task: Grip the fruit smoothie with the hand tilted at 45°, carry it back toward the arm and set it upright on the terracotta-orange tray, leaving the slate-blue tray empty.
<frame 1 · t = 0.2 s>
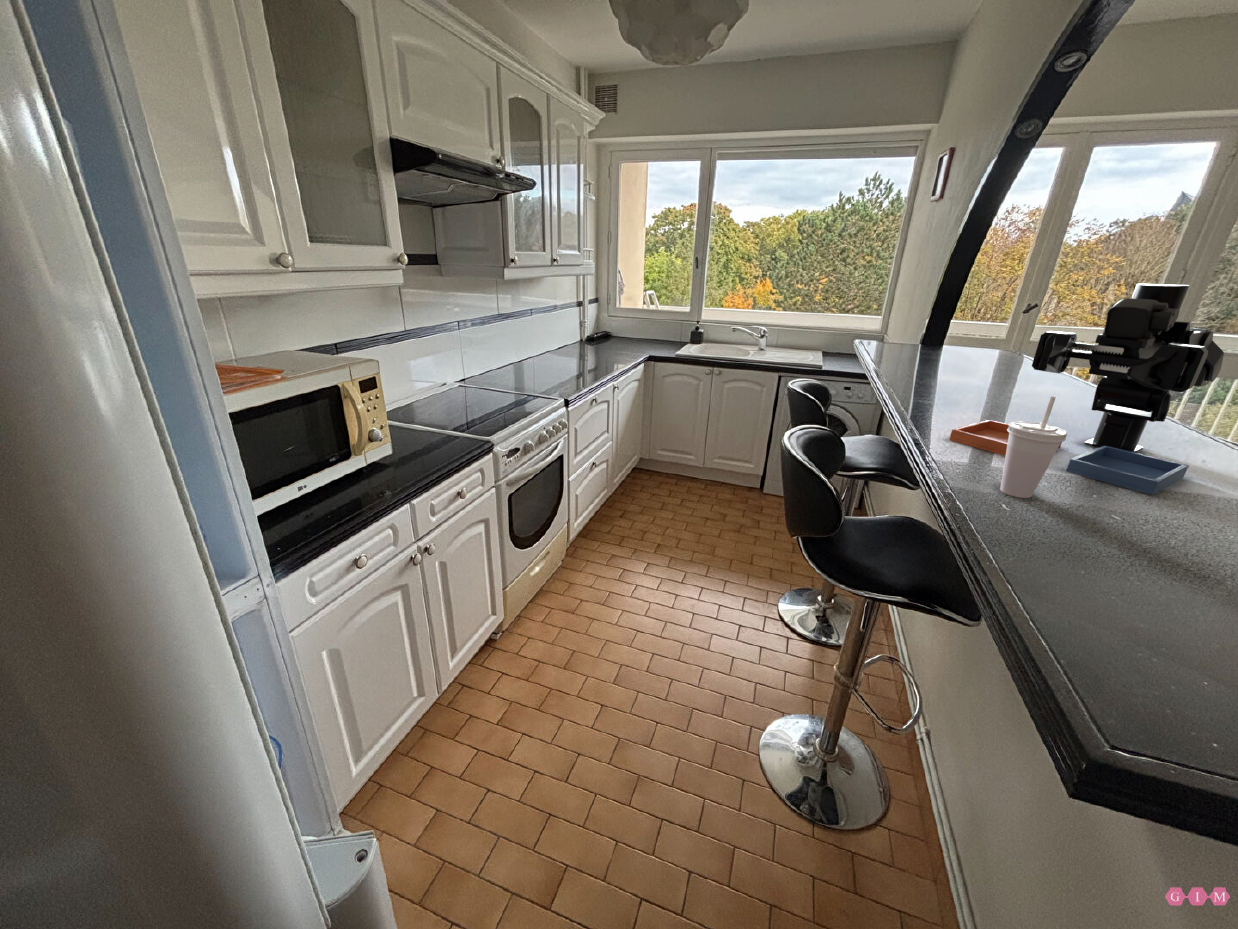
hand: (1087, 366, 73), 17 cm above the countertop, tool horizontal, fingers open, 9 cm apart
blue tray: (1123, 474, 79), on the countertop
smoothie: (1015, 493, 72), on the countertop
orange tray: (1003, 444, 92), on the countertop
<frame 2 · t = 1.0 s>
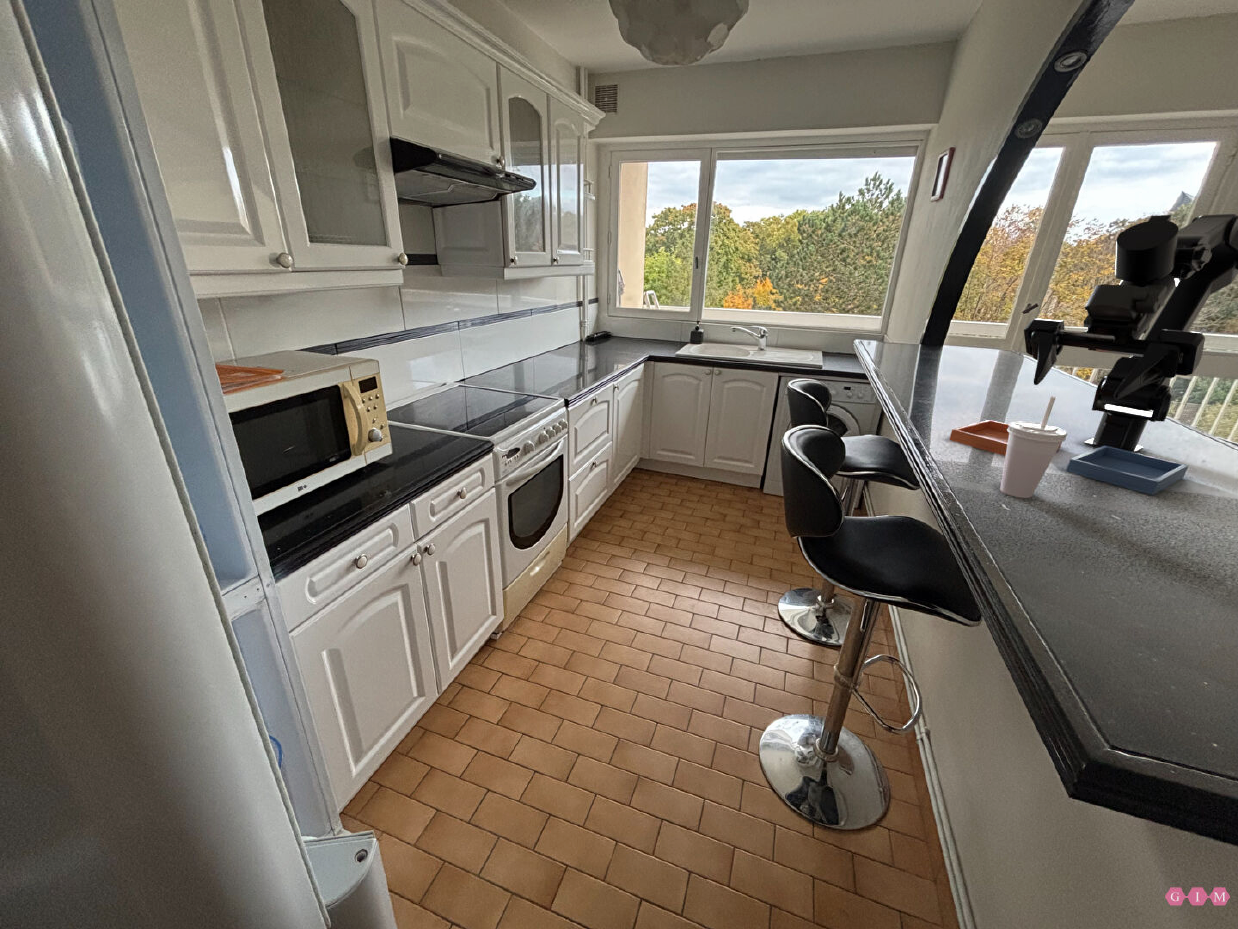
hand: (1073, 389, 71), 14 cm above the countertop, tool tilted 45°, fingers open, 9 cm apart
nothing on the countertop moved.
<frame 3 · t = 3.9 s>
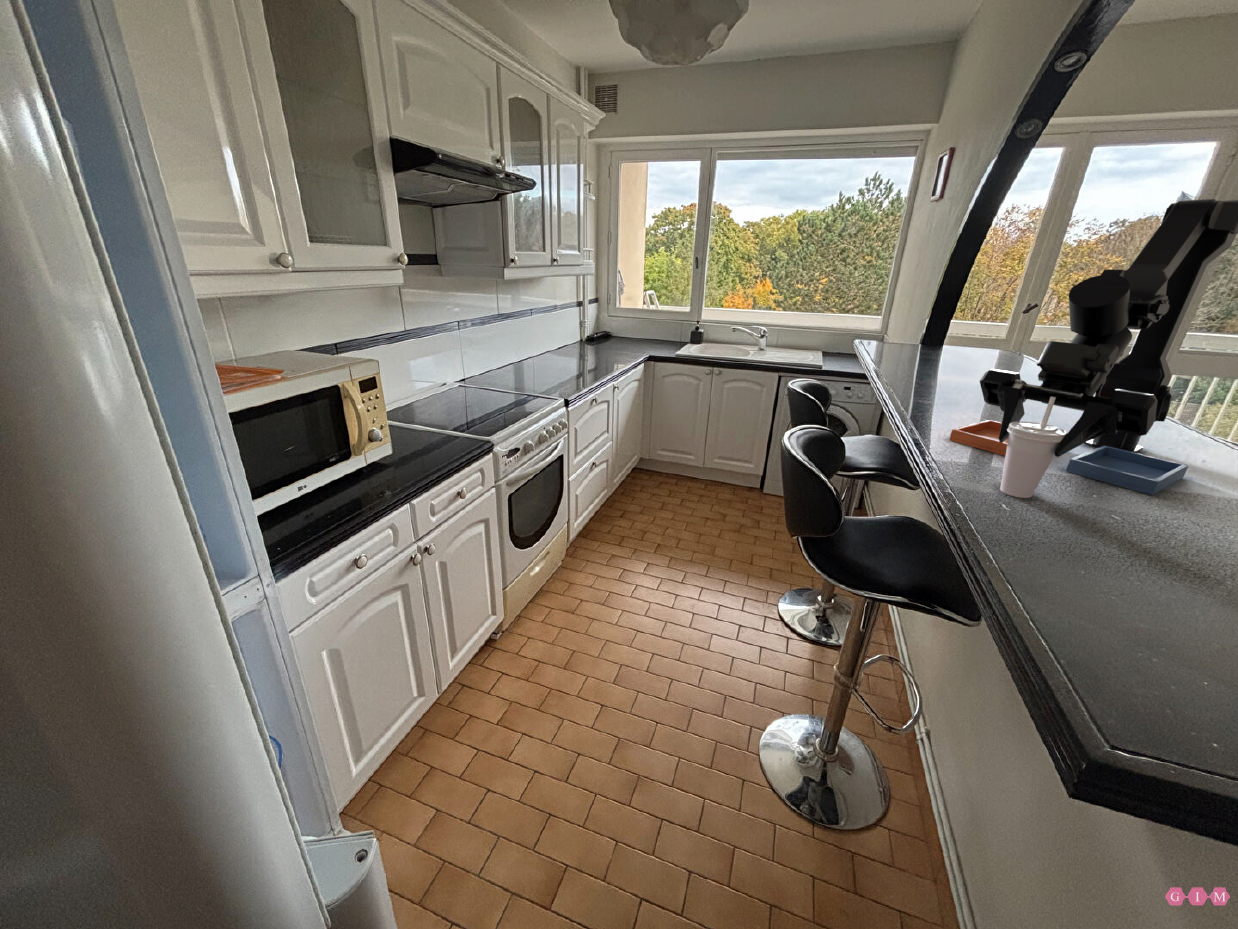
hand: (1026, 447, 69), 7 cm above the countertop, tool tilted 45°, fingers closed on smoothie, 6 cm apart
smoothie: (1015, 493, 72), on the countertop, touching gripper
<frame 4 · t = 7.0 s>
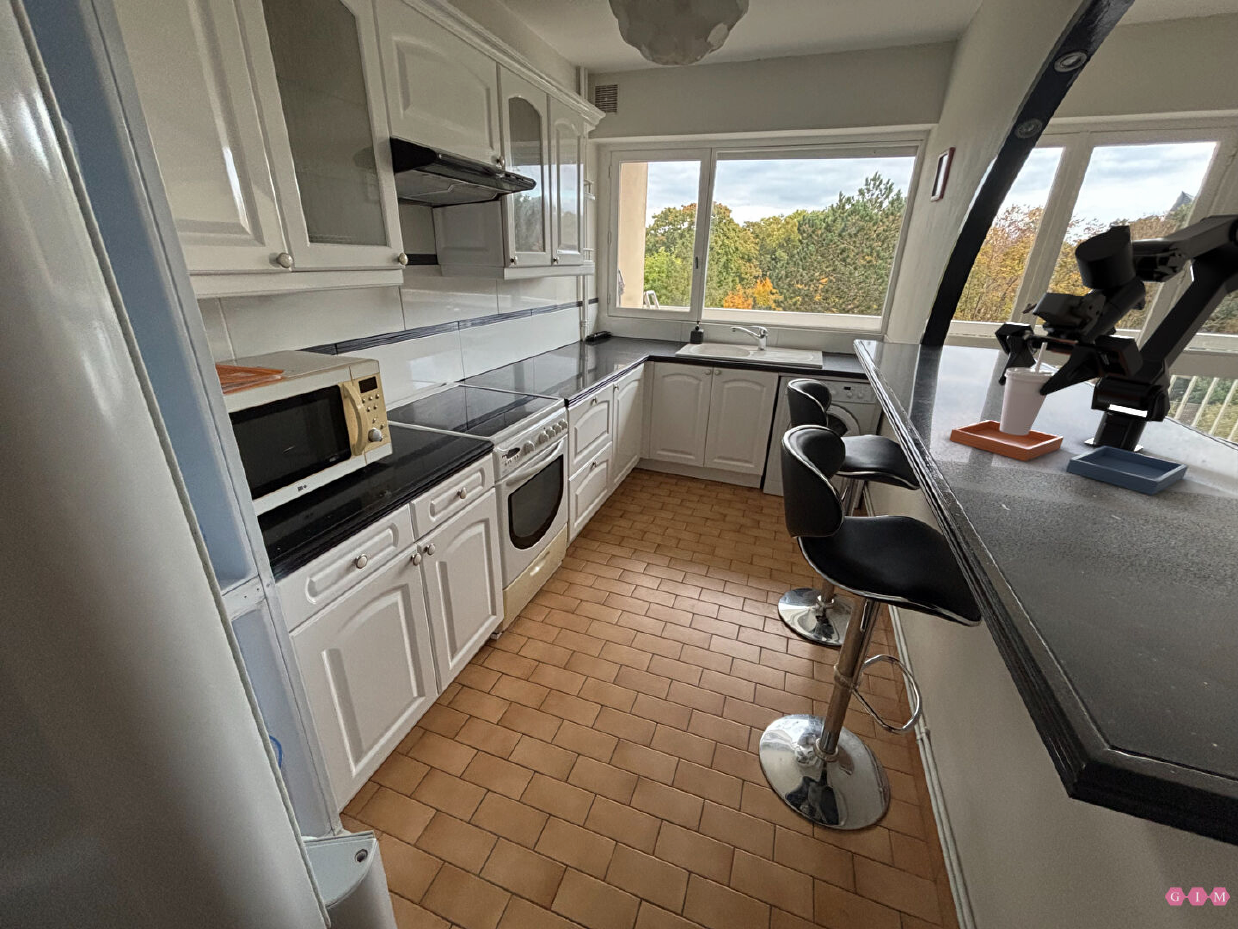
hand: (1019, 388, 78), 13 cm above the countertop, tool tilted 45°, fingers closed on smoothie, 6 cm apart
smoothie: (1013, 432, 81), point 5 cm above the countertop, touching gripper
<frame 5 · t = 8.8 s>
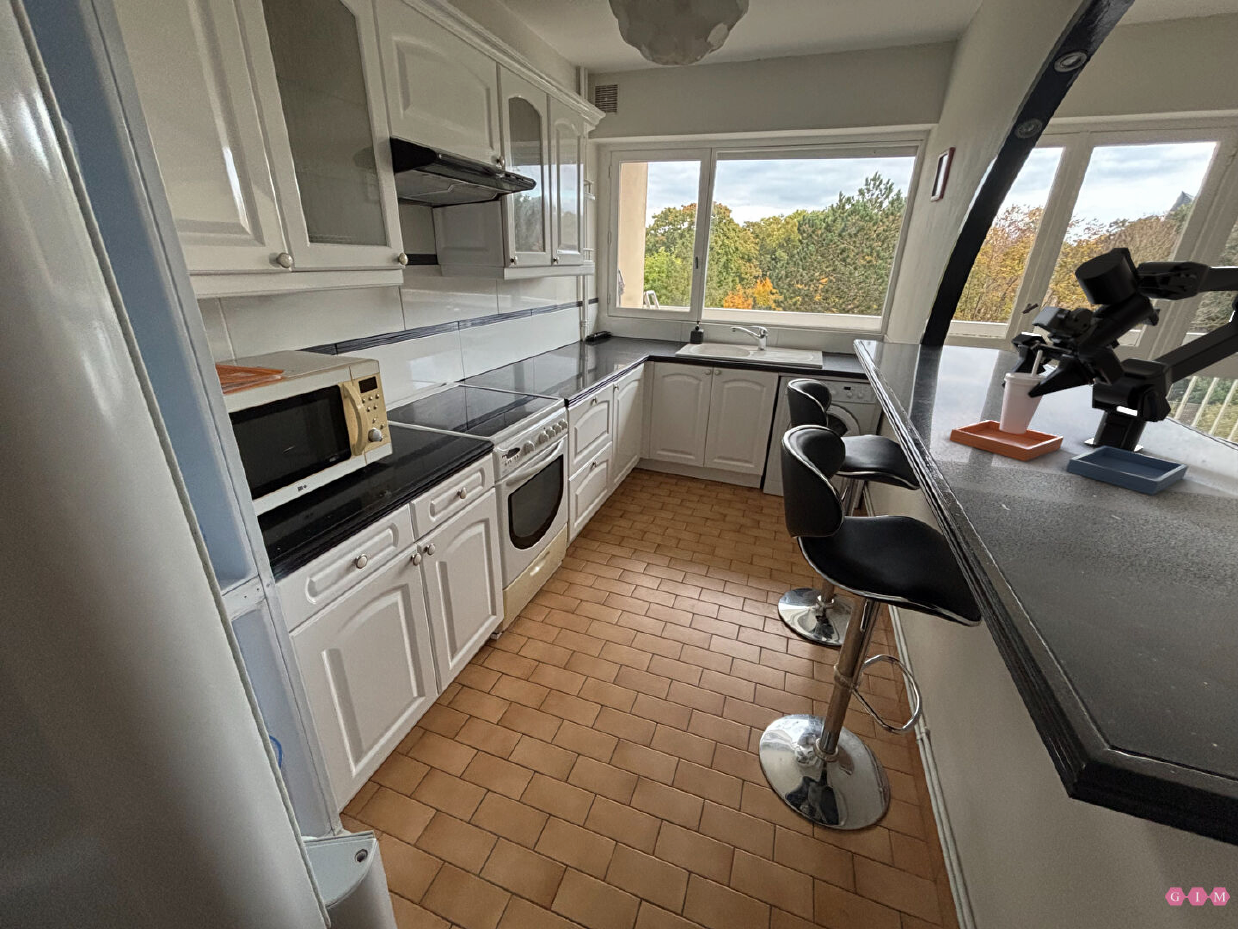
hand: (1015, 391, 87), 10 cm above the countertop, tool tilted 45°, fingers closed on smoothie, 6 cm apart
smoothie: (1011, 431, 89), point 3 cm above the countertop, touching gripper
when the fingers open (8 cm above the countertop, at t = 10.2 s): smoothie stays where it is, resting on orange tray.
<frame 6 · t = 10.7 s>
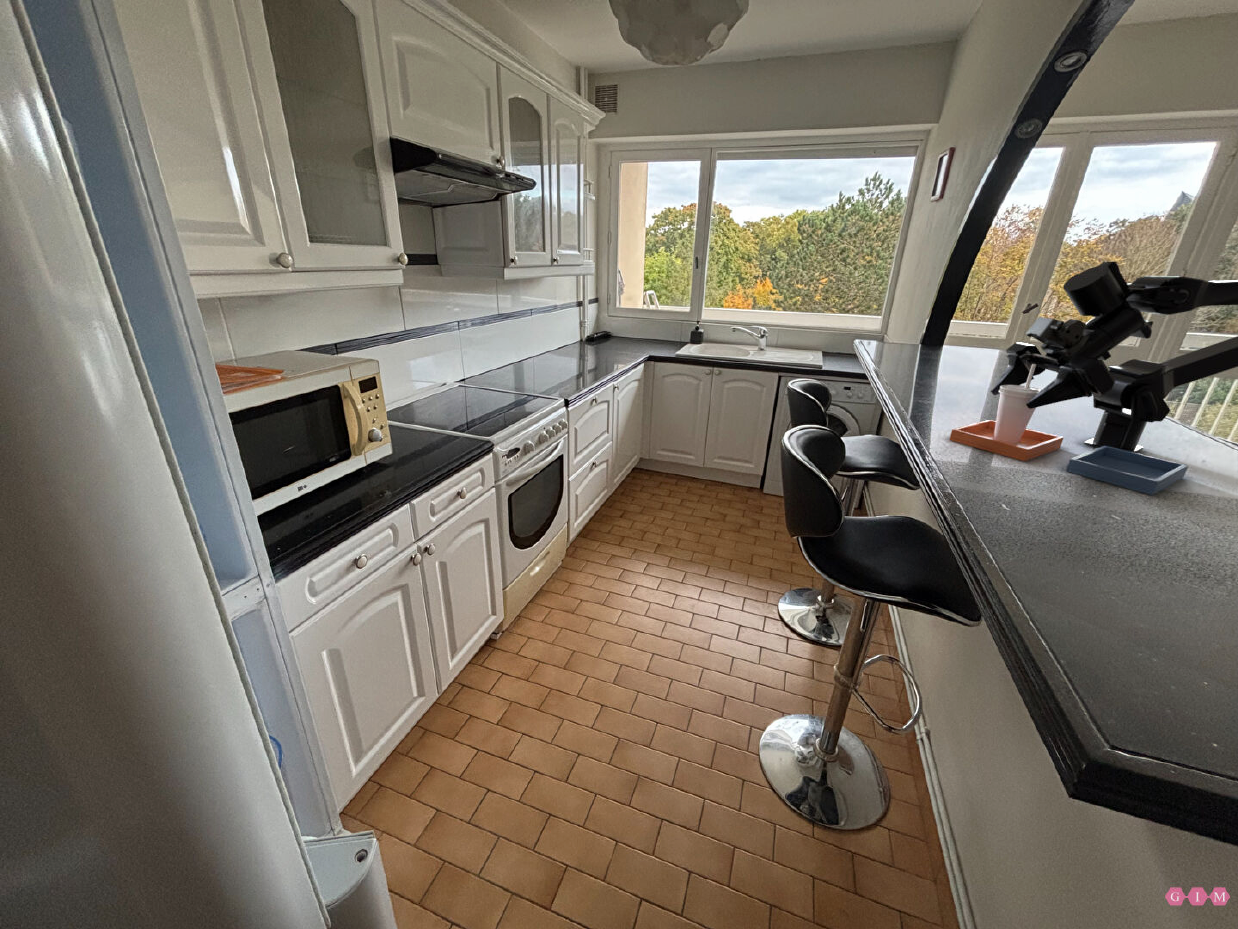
hand: (1009, 399, 89), 8 cm above the countertop, tool tilted 45°, fingers open, 9 cm apart
smoothie: (1005, 442, 92), resting on orange tray
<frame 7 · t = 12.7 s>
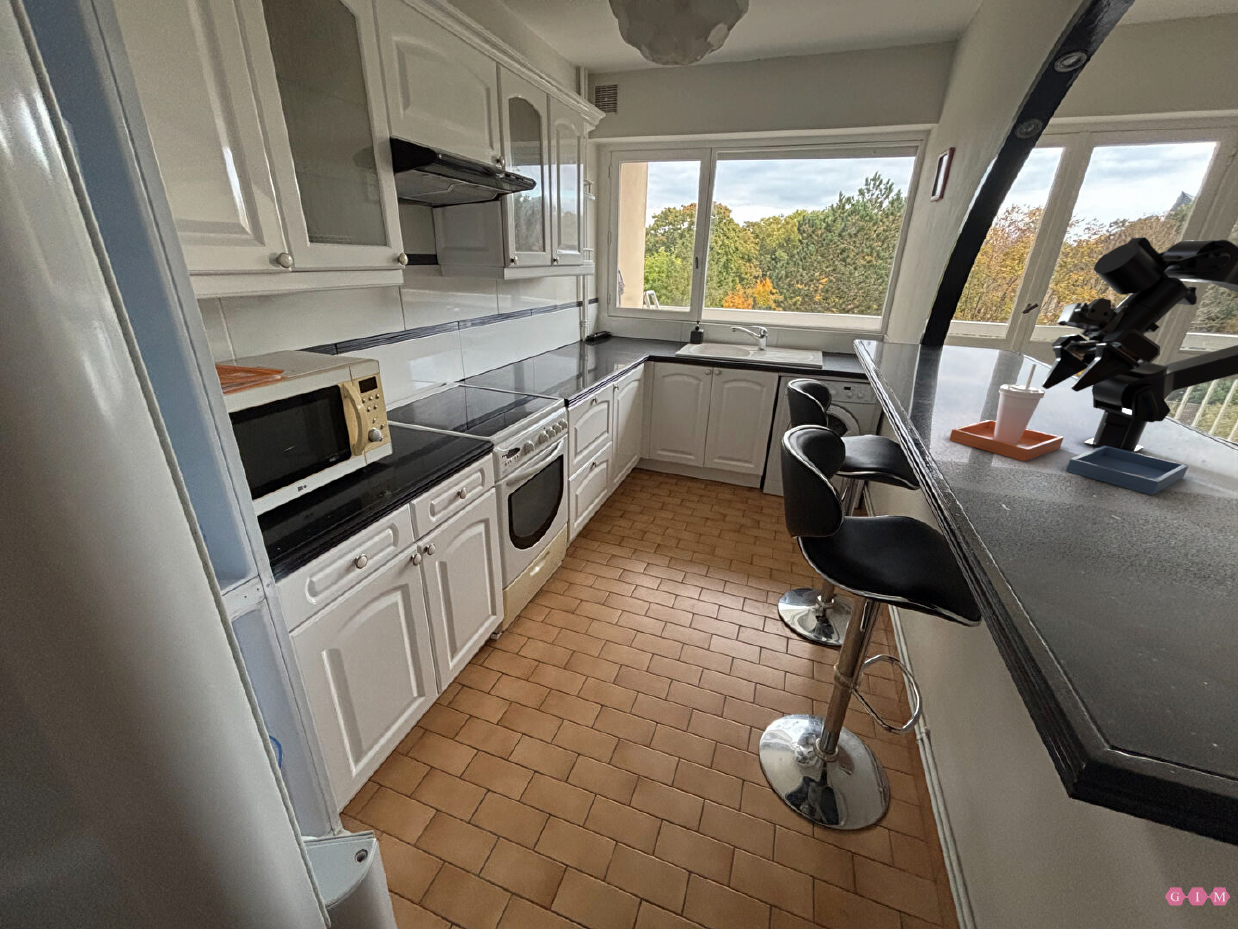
hand: (1058, 388, 87), 11 cm above the countertop, tool tilted 35°, fingers open, 9 cm apart
nothing on the countertop moved.
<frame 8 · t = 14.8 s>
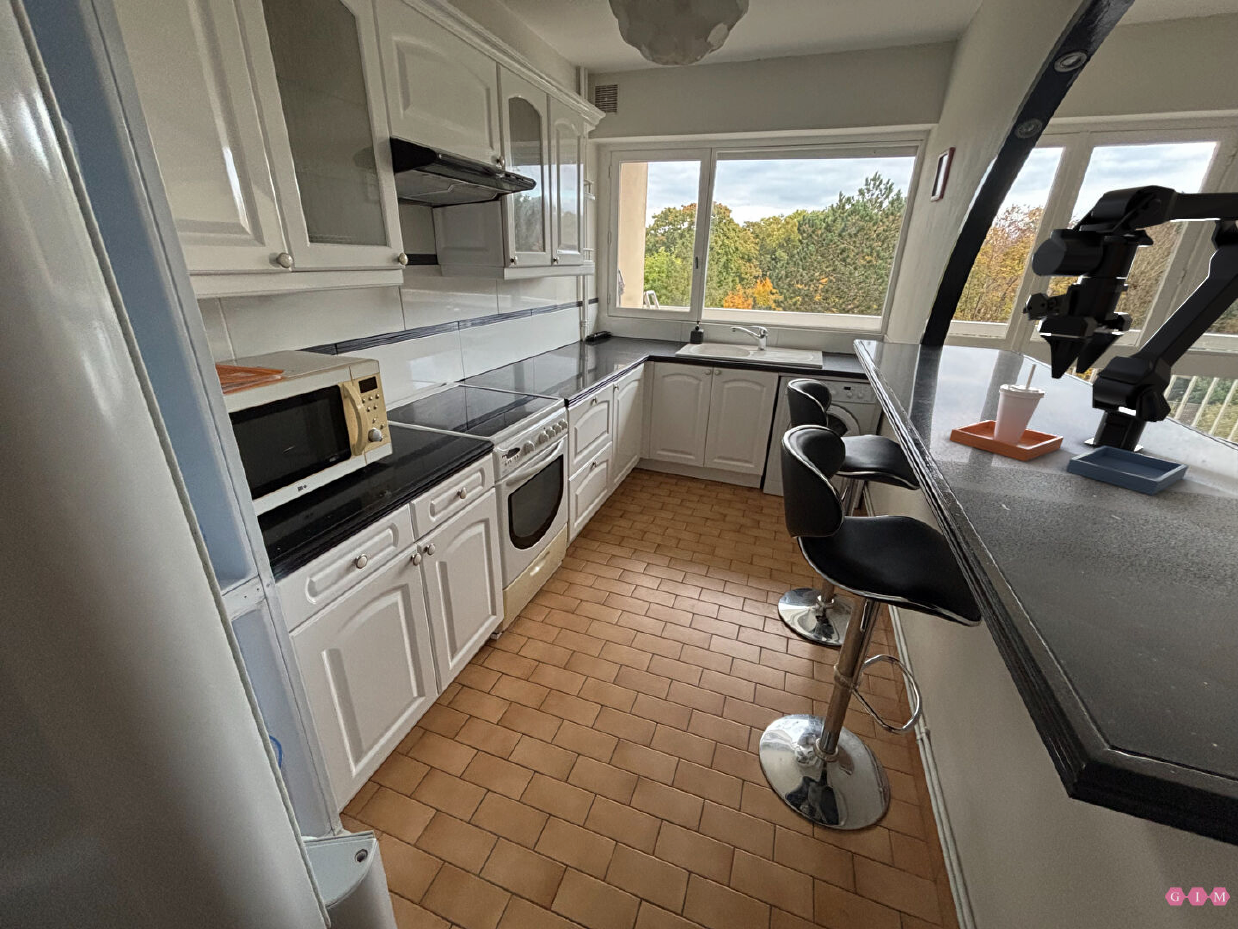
hand: (1067, 375, 85), 13 cm above the countertop, tool pointing down, fingers open, 9 cm apart
nothing on the countertop moved.
at the end: smoothie inside the target area in the orange tray (0.2 cm from its centre), point 0.4 cm above the orange tray's base; smoothie tilted 0°; the gripper is holding nothing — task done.
